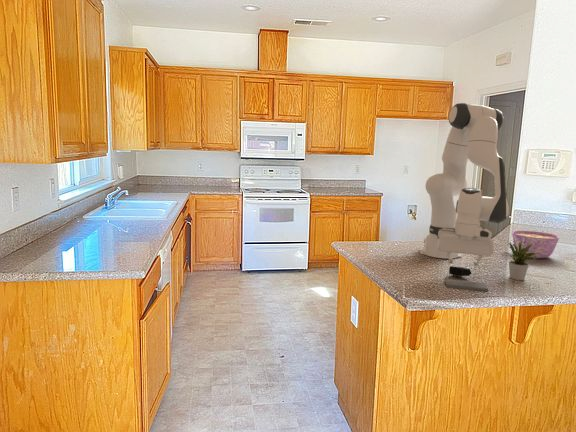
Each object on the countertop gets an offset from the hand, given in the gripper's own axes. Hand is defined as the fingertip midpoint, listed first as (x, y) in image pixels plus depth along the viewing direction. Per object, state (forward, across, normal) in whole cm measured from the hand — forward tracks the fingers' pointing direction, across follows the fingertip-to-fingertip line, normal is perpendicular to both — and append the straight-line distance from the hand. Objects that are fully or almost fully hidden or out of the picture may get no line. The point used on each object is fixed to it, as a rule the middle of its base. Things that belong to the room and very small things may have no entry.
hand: (463, 264), depth 168 cm
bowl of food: (+6, +38, +52) cm, 64 cm away
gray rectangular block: (+5, 0, -11) cm, 13 cm away
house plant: (+6, +20, +8) cm, 23 cm away
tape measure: (+5, 0, -3) cm, 6 cm away
